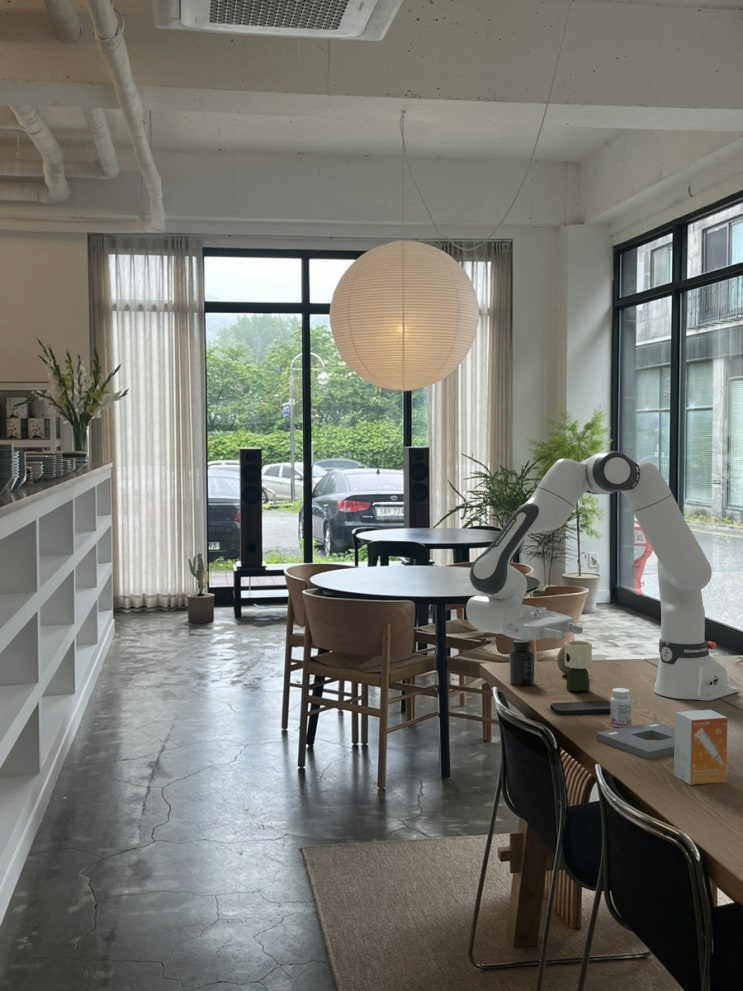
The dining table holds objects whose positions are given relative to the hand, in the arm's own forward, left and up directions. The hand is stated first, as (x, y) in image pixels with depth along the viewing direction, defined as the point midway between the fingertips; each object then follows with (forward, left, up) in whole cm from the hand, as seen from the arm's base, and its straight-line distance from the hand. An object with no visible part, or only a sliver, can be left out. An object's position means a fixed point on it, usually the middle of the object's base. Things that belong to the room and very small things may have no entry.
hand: (571, 633), depth 241 cm
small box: (+9, +48, -21) cm, 53 cm away
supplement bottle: (-9, -32, -21) cm, 39 cm away
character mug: (-17, -18, -21) cm, 32 cm away
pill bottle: (-4, +12, -21) cm, 24 cm away
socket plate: (0, +26, -20) cm, 33 cm away
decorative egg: (-27, -33, -21) cm, 47 cm away
